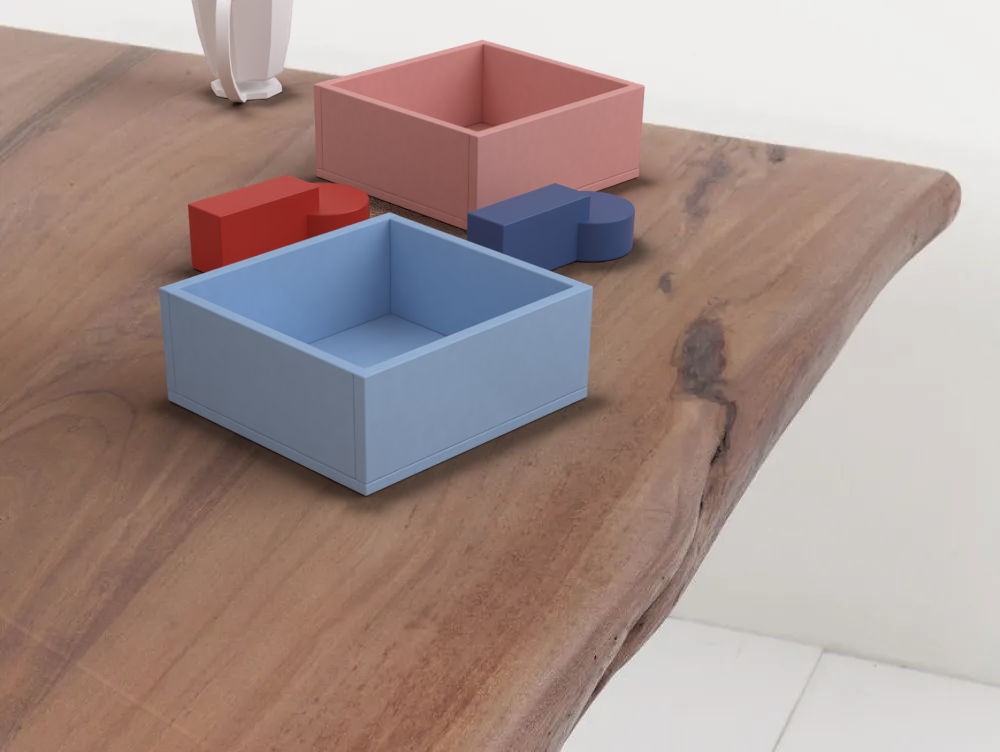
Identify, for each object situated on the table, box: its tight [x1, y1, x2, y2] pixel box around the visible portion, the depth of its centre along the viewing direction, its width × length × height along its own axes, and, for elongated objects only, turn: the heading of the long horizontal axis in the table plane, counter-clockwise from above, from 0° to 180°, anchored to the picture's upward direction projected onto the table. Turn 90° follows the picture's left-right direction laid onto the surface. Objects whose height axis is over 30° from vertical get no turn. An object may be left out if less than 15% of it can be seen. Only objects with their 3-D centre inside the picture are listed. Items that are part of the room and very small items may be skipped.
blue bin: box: [158, 211, 594, 497], centre depth 79 cm, size 12×13×5 cm
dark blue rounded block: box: [466, 183, 636, 271], centre depth 94 cm, size 5×10×3 cm, turn 137°
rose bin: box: [313, 39, 646, 231], centre depth 103 cm, size 12×13×5 cm
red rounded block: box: [187, 174, 371, 273], centre depth 94 cm, size 5×10×3 cm, turn 137°
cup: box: [191, 0, 294, 104], centre depth 113 cm, size 7×10×8 cm
